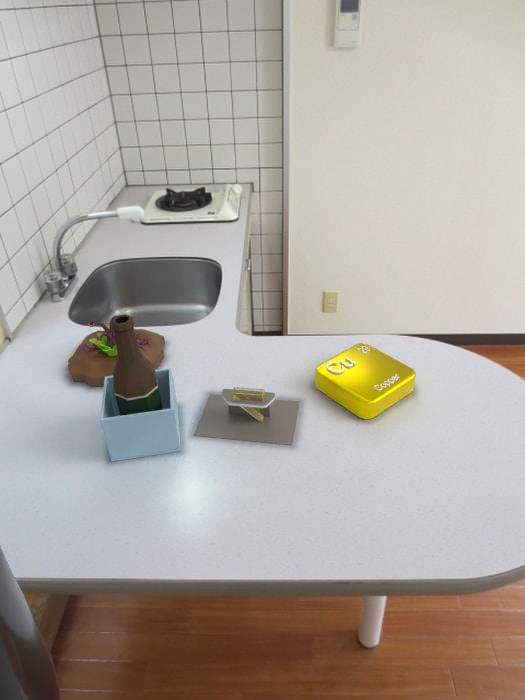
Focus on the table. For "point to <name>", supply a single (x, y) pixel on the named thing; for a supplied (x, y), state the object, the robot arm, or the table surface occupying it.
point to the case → (141, 423)
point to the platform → (249, 417)
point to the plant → (109, 353)
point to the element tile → (364, 380)
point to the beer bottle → (133, 372)
